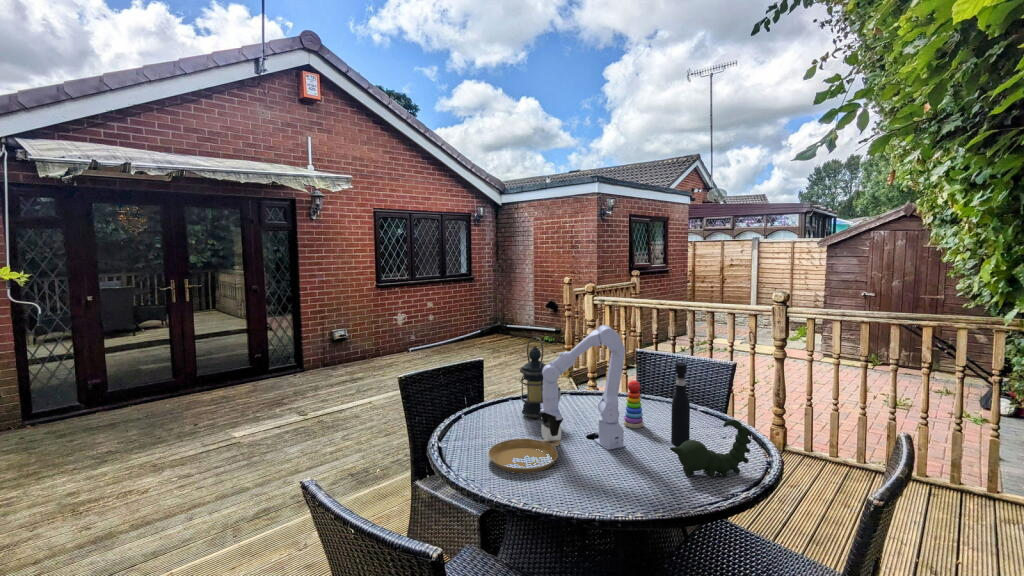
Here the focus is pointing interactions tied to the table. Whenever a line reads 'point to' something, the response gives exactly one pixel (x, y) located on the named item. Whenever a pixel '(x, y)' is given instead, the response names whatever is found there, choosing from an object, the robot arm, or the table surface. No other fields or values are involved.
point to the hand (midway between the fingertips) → (550, 432)
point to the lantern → (533, 381)
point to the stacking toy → (633, 407)
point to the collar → (549, 432)
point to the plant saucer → (521, 454)
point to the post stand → (552, 442)
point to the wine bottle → (680, 409)
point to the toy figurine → (714, 454)
